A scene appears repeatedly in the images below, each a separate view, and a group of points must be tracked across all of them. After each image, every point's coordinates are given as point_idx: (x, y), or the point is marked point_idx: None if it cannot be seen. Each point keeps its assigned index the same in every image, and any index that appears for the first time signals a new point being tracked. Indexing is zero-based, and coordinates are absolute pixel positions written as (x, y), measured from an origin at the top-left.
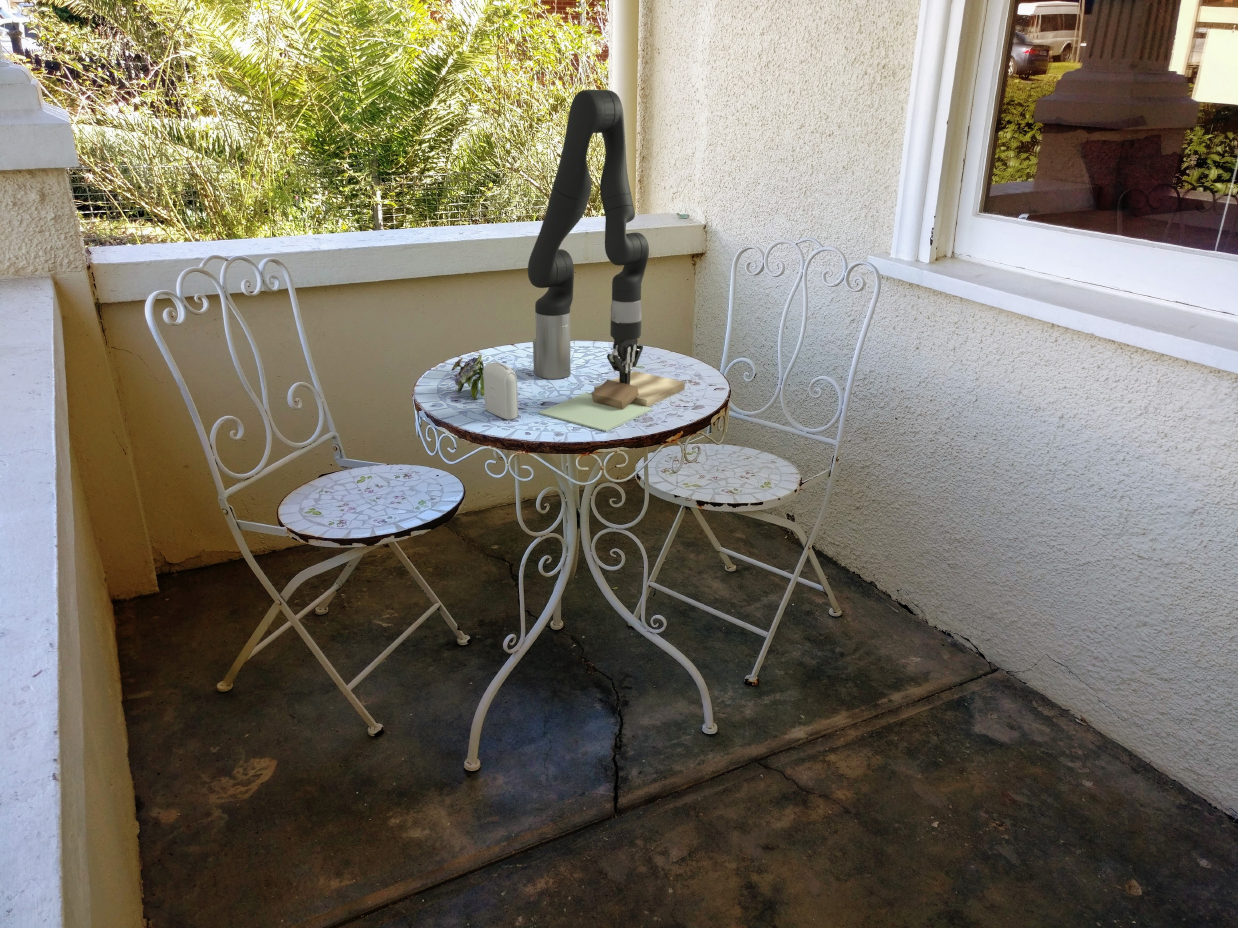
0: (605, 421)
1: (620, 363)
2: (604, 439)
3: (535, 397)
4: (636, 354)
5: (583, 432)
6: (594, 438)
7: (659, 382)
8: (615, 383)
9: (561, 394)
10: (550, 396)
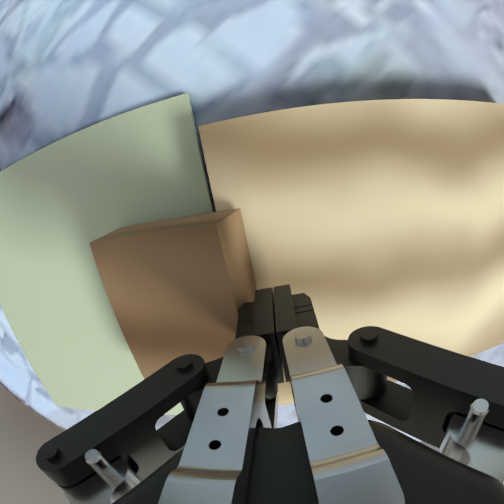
0: (72, 378)
1: (162, 463)
2: (45, 414)
3: (28, 40)
4: (427, 433)
5: (17, 367)
6: (29, 399)
7: (475, 293)
8: (214, 299)
9: (103, 44)
10: (61, 48)
